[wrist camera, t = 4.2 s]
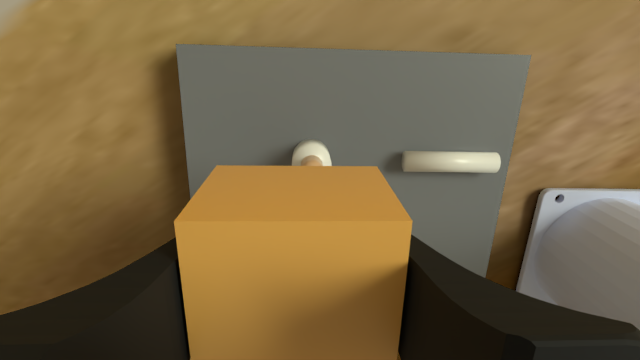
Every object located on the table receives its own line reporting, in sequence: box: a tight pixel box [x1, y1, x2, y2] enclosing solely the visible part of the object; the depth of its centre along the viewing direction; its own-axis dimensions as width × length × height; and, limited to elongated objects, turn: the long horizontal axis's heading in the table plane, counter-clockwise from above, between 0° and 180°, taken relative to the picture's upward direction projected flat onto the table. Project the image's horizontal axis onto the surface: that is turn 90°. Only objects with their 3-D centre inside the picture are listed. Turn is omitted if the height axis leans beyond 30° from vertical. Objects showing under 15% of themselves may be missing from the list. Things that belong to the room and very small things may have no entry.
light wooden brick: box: [174, 165, 413, 360], centre depth 11 cm, size 5×5×4 cm
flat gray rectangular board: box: [176, 44, 531, 278], centre depth 18 cm, size 16×12×4 cm
